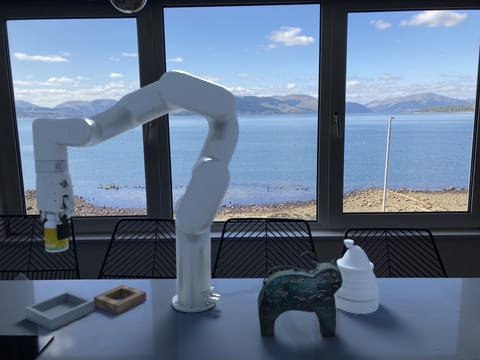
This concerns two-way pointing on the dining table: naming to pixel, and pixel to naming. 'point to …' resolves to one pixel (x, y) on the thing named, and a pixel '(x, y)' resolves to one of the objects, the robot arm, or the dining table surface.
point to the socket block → (117, 307)
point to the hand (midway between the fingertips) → (56, 236)
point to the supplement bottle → (53, 235)
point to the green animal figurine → (300, 295)
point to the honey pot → (357, 282)
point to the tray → (59, 310)
